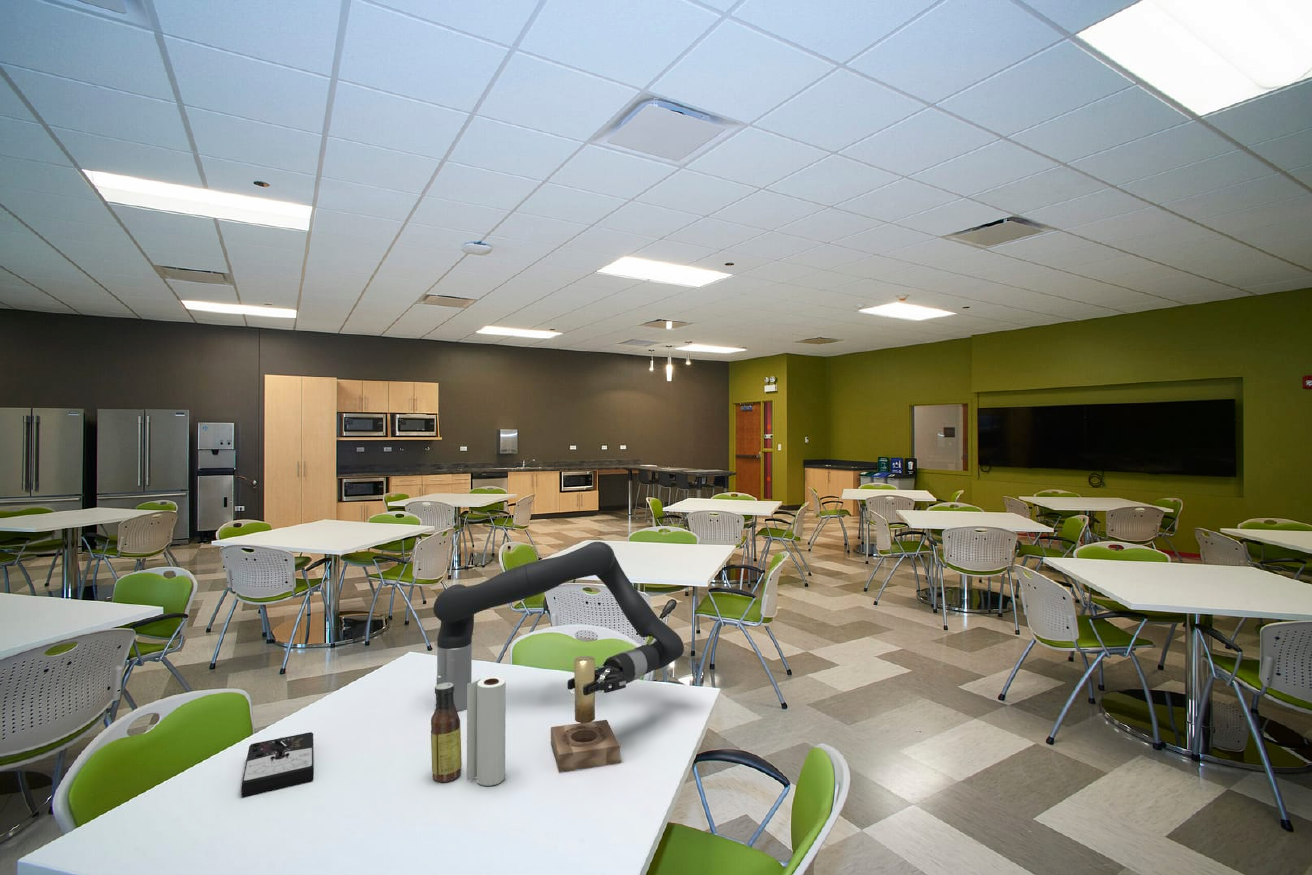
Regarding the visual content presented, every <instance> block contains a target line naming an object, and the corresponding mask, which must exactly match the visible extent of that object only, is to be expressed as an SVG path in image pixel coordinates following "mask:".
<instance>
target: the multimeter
mask: <svg viewBox="0 0 1312 875" xmlns="http://www.w3.org/2000/svg"><path fill="white" fill-rule="evenodd" d="M314 757H315V754H314V733H313V732H312V731H311V732H309V731H308V732H305V733H300V734H293V735H289V736H285V737H279V738H275V739H269V740H265V741H260V742H253V743H251V744H250V745H249V746H248V751H247V757H246V760H245V765H244V766H245V767H244V772H243V775H242V776H243V777H242V779H241V780H242V781H241V791H240V792H241V798H242V799H243V798H248V797H252V796H257V795H261V794H266V793H269V792H274V791H277V790H281V789H282V790H283V789H285V788H286V789H288V788H291V787H295V786H299V785H304V784H308V783H312V782H313V781H314V778H315V777H314V776H315V772H314V770H315V766H314V765H315V763H314V761H315V760H314Z"/></svg>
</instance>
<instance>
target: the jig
mask: <svg viewBox="0 0 1312 875" xmlns="http://www.w3.org/2000/svg"><path fill="white" fill-rule="evenodd" d="M550 745H551V749H552V753H553V756H554V759H555V763H556V767H557V770H558V771H557V772H558V773H559V774H560V773H565V772H571V771H577V770H578V771H579V770H585V769H590V768H597V767H602V766H603V767H604V766H609V765H610V766H611V765H616V764H617V765H618V764H620V763H621V744H620V743H619V741H618V738H617V737H616V735H615V733H614V731H613V728H612V727H611V725H610V724H609V721H608V720H607V719H602V720H601V719H600V720H593V721H592V722H589V723H579V722H577V723H572V724H565V725H556V726H550Z"/></svg>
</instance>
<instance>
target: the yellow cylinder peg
mask: <svg viewBox="0 0 1312 875" xmlns="http://www.w3.org/2000/svg"><path fill="white" fill-rule="evenodd" d="M573 663H574V665H573V666H574V670H573V671H574V672H573V673H574V677H573V678H574V684H575V689H574V692H575V694H574V721H575V722H576V723H589V722H593V721H596V720H595V719H596V692H594V693H591V694H589V695H587V696H585V695H583V687H584V685H587V684H589V683H592V682H594V681H595V668H596V664H595V663H596V662H595V657H593V656H590V655H581V656H577V657H575V658H574V660H573Z"/></svg>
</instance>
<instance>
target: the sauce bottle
mask: <svg viewBox="0 0 1312 875" xmlns="http://www.w3.org/2000/svg"><path fill="white" fill-rule="evenodd" d="M453 692H454V684H452V683H441V684H438V685H437V684H436V686H435V687H434V694H435V709H434V712H433V714H432V716H431V719H430V729H431V730H430V747H431V748H430V749H431V773H432V779H433V780H435V781H436V782H440V783H447V782H452V781H453V780H455V779H457V778H458V777H459V776H460V775H461V773H462V765H463V764H462V733H461V731H462V730H461V719H460V715H459V713H458V711H457V710H456V707H455V704H454V696H453Z"/></svg>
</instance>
